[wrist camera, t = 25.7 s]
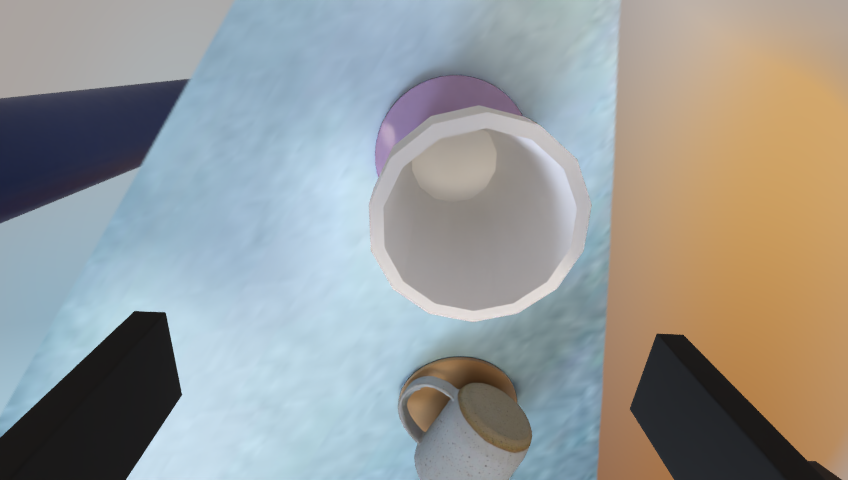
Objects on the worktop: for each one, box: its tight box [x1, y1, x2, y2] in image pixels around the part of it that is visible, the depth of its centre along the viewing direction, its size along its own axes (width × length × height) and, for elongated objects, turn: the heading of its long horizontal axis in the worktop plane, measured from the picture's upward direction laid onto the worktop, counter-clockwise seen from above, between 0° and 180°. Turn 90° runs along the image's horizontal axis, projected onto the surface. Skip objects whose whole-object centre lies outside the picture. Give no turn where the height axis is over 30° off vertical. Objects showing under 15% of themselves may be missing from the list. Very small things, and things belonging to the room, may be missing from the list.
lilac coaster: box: [375, 75, 522, 177], centre depth 30 cm, size 11×11×1 cm
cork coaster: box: [399, 357, 517, 432], centre depth 39 cm, size 11×11×1 cm
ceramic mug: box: [398, 376, 532, 480], centre depth 35 cm, size 11×8×8 cm
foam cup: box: [369, 105, 592, 322], centre depth 24 cm, size 10×9×13 cm
